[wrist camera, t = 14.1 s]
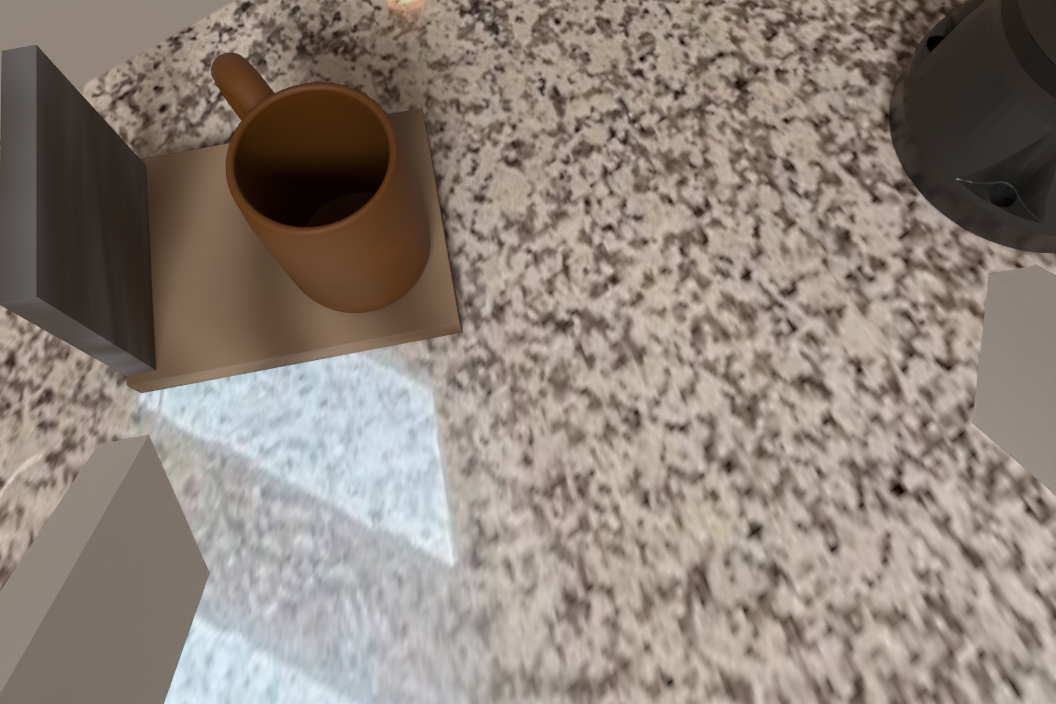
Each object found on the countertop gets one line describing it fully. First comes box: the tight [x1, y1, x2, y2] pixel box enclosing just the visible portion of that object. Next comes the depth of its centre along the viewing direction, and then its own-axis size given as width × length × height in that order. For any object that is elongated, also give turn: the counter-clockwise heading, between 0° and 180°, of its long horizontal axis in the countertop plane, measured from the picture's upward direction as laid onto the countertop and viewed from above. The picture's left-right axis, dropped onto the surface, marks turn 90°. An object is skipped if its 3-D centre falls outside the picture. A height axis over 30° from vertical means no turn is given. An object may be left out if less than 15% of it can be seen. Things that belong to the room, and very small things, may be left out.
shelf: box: [0, 45, 462, 393], centre depth 39 cm, size 17×13×12 cm
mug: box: [211, 53, 430, 313], centre depth 39 cm, size 12×8×9 cm, turn 41°
